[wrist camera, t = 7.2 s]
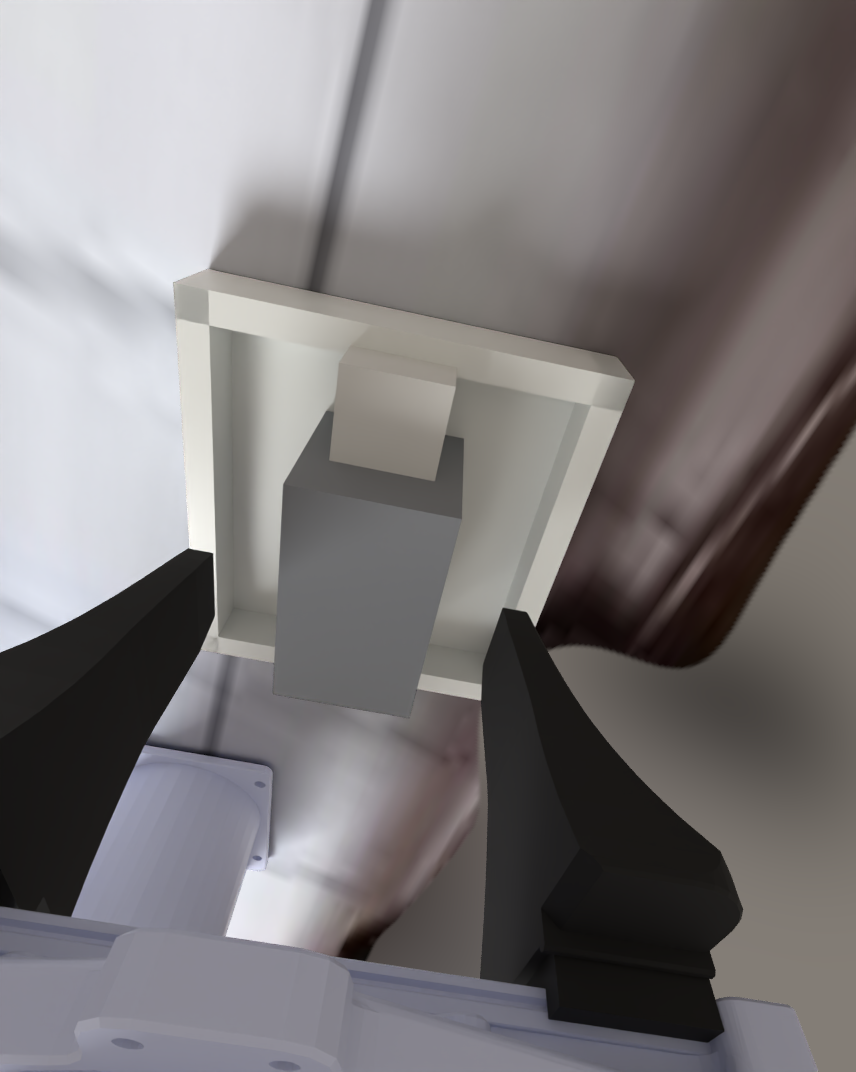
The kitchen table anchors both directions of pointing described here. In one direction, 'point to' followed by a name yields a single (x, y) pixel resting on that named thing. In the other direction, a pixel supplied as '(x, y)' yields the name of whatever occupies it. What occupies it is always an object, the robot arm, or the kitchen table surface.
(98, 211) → the kitchen table surface
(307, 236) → the kitchen table surface
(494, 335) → the tray
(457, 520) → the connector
